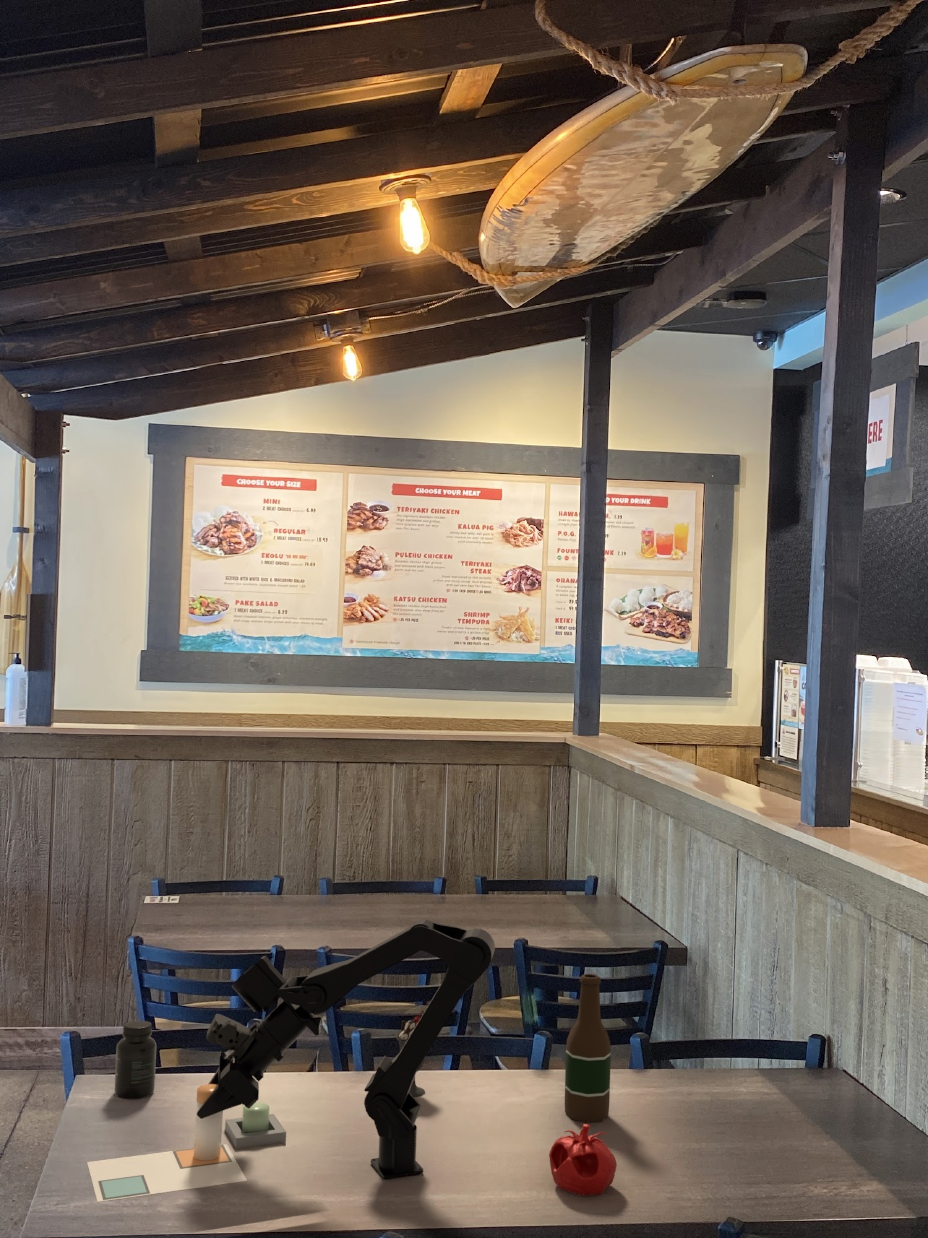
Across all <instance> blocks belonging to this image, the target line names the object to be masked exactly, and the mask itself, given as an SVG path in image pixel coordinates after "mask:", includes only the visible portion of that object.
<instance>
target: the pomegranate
mask: <svg viewBox="0 0 928 1238" xmlns="http://www.w3.org/2000/svg"><path fill="white" fill-rule="evenodd" d="M590 1128H591V1126H590V1124H589V1123H584V1124H583V1125H582V1127H581V1129H580V1132H579V1134H578V1133H576V1132H575V1131H574V1130H570V1129H569V1130H565V1131H563V1133H567V1132H568V1133H570V1134H571V1135H565V1136H561V1137H559V1138H558V1139H555V1141H554V1142H553V1144H552V1146H551V1147H550V1151H549V1153H548V1157H549V1165H550V1171H551V1175H552V1179H553V1182H554V1183H555V1185H557V1187H558V1188H559V1189H561V1190H562V1191H564V1192H567V1193H568V1192H569V1193H572V1194H575V1195H578V1196H585V1197H588V1196H598V1195H601V1194H604V1192H605V1190H606V1189H607V1188H608V1187H609V1186H611V1185H612V1183H613V1181H614V1178H615V1176H616V1175H615V1174H616V1171H617V1166H618V1165H617V1164H618V1163H617V1160H616V1157H615V1156H614V1154H613V1152H612V1151H611V1150H610V1149H609V1147H608V1146H607V1145H606V1144H605V1143H604V1140H601V1139H600V1138H598V1137H597V1136H599V1135H606V1132H597V1133H595V1134H592V1135H589V1130H590Z"/></svg>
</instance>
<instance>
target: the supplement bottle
mask: <svg viewBox="0 0 928 1238" xmlns="http://www.w3.org/2000/svg"><path fill="white" fill-rule="evenodd" d="M152 1024H153V1023H151V1022H150V1021H147V1020H133V1021H128V1022H125V1023H124V1024H123V1027H122V1028H123V1029H122V1030H123V1032H122V1037H123V1038H121V1039H120V1040H119V1041H118V1042H117V1044H116V1049H115V1050H116V1053H115V1069H114V1070H115V1071H114V1072H115V1074H114V1075H115V1076H114V1093H115V1096H117V1097H118V1098H120V1099H123V1100H140V1099H144V1098H146V1097H149V1096H151V1095H152V1094H153V1093H154V1091H155V1085H156V1084H155V1082H156V1066H157V1065H156V1064H157V1062H156V1061H157V1060H156V1059H157V1043H156V1040H155V1039H154V1038H152V1037H151V1036H152V1034H153V1032H152Z"/></svg>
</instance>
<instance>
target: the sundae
mask: <svg viewBox="0 0 928 1238" xmlns="http://www.w3.org/2000/svg"><path fill="white" fill-rule="evenodd" d="M424 1012H425V1010H423V1009H421V1012H420V1013H418V1015H417V1016H415V1017H414V1019H411V1020H410V1019H409V1020H408V1021H406V1020H404V1019H403V1020H402V1021H401V1029H400V1031H399V1032H397V1033H395V1038H396V1040H397V1041H398V1044H399V1052H400V1051H401V1050H402V1048H403V1046H404V1045H405V1043H406V1042H407V1040H408V1038H409V1037H410V1035H411V1033H412V1032H413V1030H414V1028H415V1027H416V1025H417V1023H418V1022H419V1020H420V1018H421V1017H422V1015H423V1013H424ZM425 1058H426V1057H425ZM425 1058H424V1059H423V1061H422V1063H421V1064H420V1066H419V1068H418V1069H417V1072H419V1071H420V1070H421V1069H422V1068H423V1067H424V1064H425V1063H424V1062H425ZM417 1072H416V1073H417ZM409 1092H410V1094H411V1095H412V1096H413V1097H414V1098H417V1097H421V1096H423V1095H425V1093H426V1091H425V1089H424V1088H422V1087H420V1086H417V1083H416V1076H415V1077H414V1080H413V1083H412V1085H411V1088H410V1090H409Z"/></svg>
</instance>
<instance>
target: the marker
mask: <svg viewBox="0 0 928 1238" xmlns="http://www.w3.org/2000/svg"><path fill="white" fill-rule="evenodd" d="M216 1086H217V1084H209V1083H208V1084H202V1085H200V1086H198V1087H197V1090H196V1092H197V1093H196V1112H195V1126H194V1127H195V1129H194V1142H193V1148H194V1158H195V1159H197V1160H202V1161H210V1160H215V1159H217V1158H219V1157H220V1149H221V1145H222V1133H223V1132H222V1131H223V1130H222V1129H223V1118H224V1117H223V1116H224V1114H223V1113H224V1110H223V1111H221V1112H218V1113H216V1114H213V1115H210V1116H208V1117H205V1118H203V1119H201V1118H199V1117H198V1116H197V1112H198V1111H199V1109H200V1108H201V1106H202V1105H203V1104H204V1102H205V1101H206V1100H207V1098H208V1097H209V1096H210V1094H211V1093H212V1092H213V1090H214V1089H215V1088H216Z"/></svg>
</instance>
